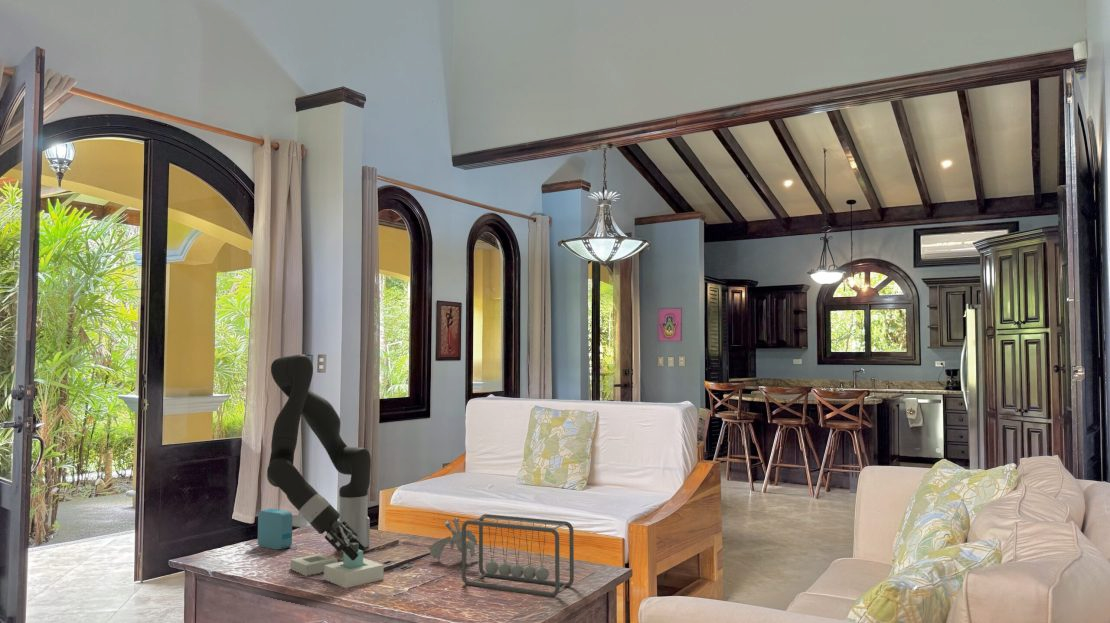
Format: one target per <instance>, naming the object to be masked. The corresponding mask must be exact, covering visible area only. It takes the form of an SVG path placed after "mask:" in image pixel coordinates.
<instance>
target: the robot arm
mask: <svg viewBox="0 0 1110 623" xmlns="http://www.w3.org/2000/svg"><path fill="white" fill-rule="evenodd" d="M270 373H271V376H272V379H273V381H274V383H275V384H276V385H277V387H278V388H279V389H280V390H281V391H282V392H283V393H284V394H285V395H286V397H287V401H286V402H285V404H284V406H283V407H282V409H281V411H280V412H279V414H278V415H277V417H276V419H275V421H274V424H273V428H272V436H271V442H270V447H271V452H270V456H269V462H268V463H269V464H268V466H267V470H266V479H267V481H268V483H269V484H270V485H271V486H272V487H276V488H279V489H280V490H281V491H282V492H283V493H284V494H285V495H286V497H287V499H288V502H290V503H291V505H292V506H294V508H295V509H297V511H298V512H299V513H300V514H301V516H302V517H303V519H305V521H306V522H308V523H309V525H311V527H312V528H313V529H314V530H315V531H316V532H317V533H318V534H319V535H323V534H324V533H326V534H325V536H324V539H325V540H326V541H327V542H328V543H329V544H330V545H331V546H332V547H333V548H334V549H335V550H336V551H337V552H339V553H340V552H342V553H343V552H345V553H346V555H347V556H348V557H349V558H350V559H351V560H355V559H356V558H357V557H358V553H357V552H356V551H355V550H354V549H353V548H352V547H351V546H349V543H359V550H362V551H363V552H364V551H365V550H366V548H367V547H370V540H371V538H370V537H371V536H370V532H371V531H370V529H371V528H370V526H371V524H370V521H371V519H370V517H369V516H368V495H369V494H368V492H369V487H370V484H371V483H370V482H371V467H372V458H371V454H370V451H369V450H368V449H367V448H365V447H356V446H348V445H347V444H346V443H345V442H344V439H342V437H341V434H340V432H341V418H340V415H339V414H338V412H337V411H336V409H335V408H334V406H333V405H332V404H331V403H330V401H328V400H327V399H326V398H324V397H322V396H321V395H319V394H317V393H316V392H314V391H312V390H310V387H311V382H312V380H313V376H314V375H313V374H314V366H313V362H312V359H311V358H310V357H309V356H308V355H307V354H293V355H289V356H288V355H287V356H281V357H278V358H276V359H274V360H273V362H272V363H271V366H270ZM301 416H302V417H303V419H304V420H305V422H306V423H307V425H308V426H309V427H310V429H311V431H312V432H313V433H314V435H315V436H316V437H317V438H318V440H319V442H320V443H321V445H322V446H323V448H324V450H325V451H326V454H327V455H328V457H329V459H330V461H331V463H332V465H333V466H334V468H335V470H336V471H337V472H338V473H339V474H341V475H346V476H347V475H348V476H350V481H349V483H347V484H345V485H342V486H341V487H340V488H339V490H338V491H339V492H338V494H339V497H338V498H339V500H338V511H337V509H335V508H334V506H333V505H332V504H331V503H329V501H328V500H327V499H326V498H325V497H324V496H322V495H321V494H320V493H319V492H317V490H316V489H315V488H314V487H313V486H312V485H311V484H310V483H308V482H307V481H306V479H305V478H304V477H303V474H301V473H300V471H299V470H298V469H297V468H296V467H295V465H294V459H295V452H296V449H297V442H298V434H299V428H300V422H301V418H302V417H301Z"/></svg>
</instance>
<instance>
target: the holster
mask: <svg viewBox="0 0 1110 623" xmlns="http://www.w3.org/2000/svg"><path fill="white" fill-rule="evenodd" d="M338 560H339V559H338V558H336V557H332V556H330V555H327V554H325V553H321V552H320V553H317V554H311V555H306V556H301V557H296V558H291V559H290V570H291V569H292V571H293V570H294V572H295V571H296V573H298V572H299V573H298V574H300V573H301V574H300V575H303V574H304V575H303V576H305V575H306V576H305V577H308V576H307V575H309V576H312V575H311V574H313V575H317V573H318V574H321V572H323V573H324V565H328V564H333V563H337V562H338Z"/></svg>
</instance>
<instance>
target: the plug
mask: <svg viewBox="0 0 1110 623" xmlns="http://www.w3.org/2000/svg"><path fill="white" fill-rule="evenodd" d="M349 546H351V547H352V548H353V549H354V550H355V551H356V552H357V553H358V557H357V558H356V559H355V560H351V559H350V558H349V557H348V556H347V555H346V553H345V552H342V554H343V567H346V568H348V569H353V568H357V567H362V566H363V558H364V551H362V550H359V543H349Z"/></svg>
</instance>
